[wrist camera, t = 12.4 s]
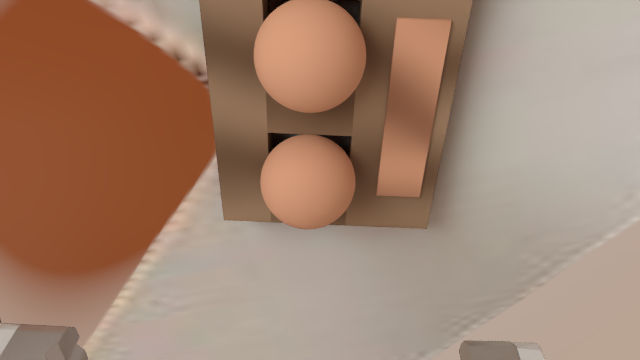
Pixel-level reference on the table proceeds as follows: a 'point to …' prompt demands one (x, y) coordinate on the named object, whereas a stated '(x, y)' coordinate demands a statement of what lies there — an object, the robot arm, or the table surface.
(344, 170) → the terracotta ball
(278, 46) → the terracotta ball
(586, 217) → the table surface
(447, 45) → the walnut ball rack
